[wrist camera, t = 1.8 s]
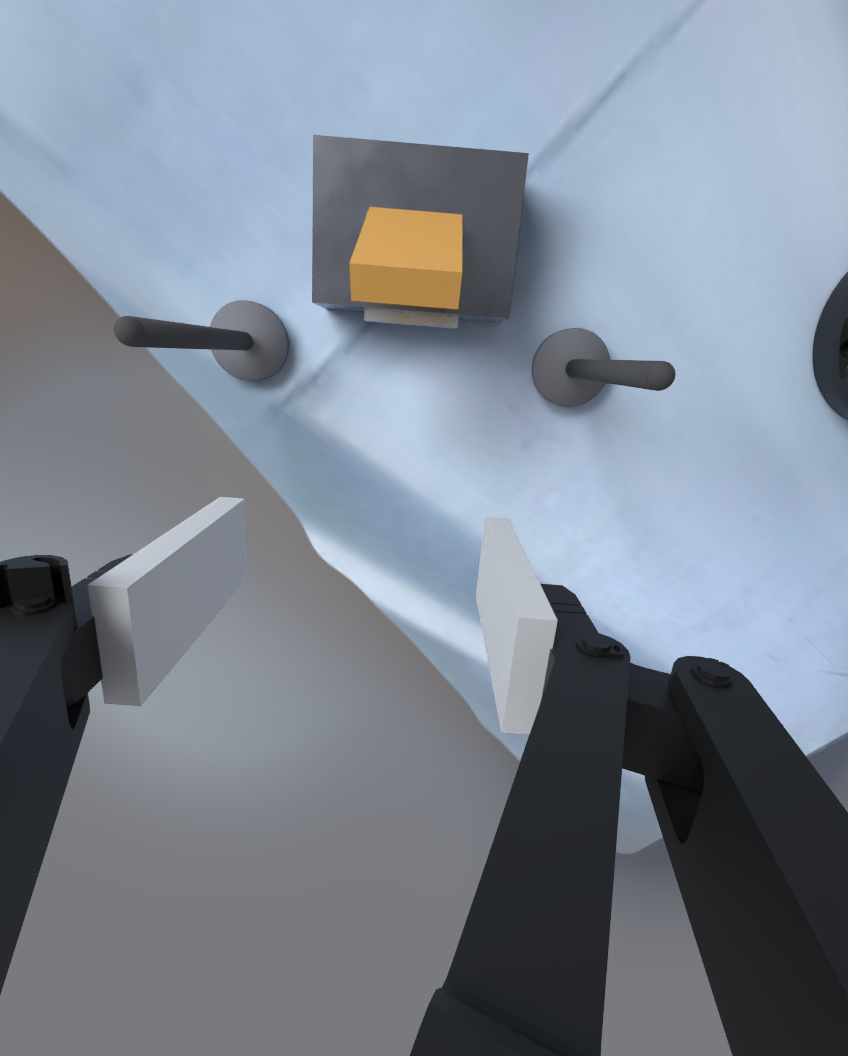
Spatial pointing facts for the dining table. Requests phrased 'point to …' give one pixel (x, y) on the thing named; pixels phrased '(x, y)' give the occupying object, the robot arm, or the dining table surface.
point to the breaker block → (422, 185)
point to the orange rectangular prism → (408, 258)
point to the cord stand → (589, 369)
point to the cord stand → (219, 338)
